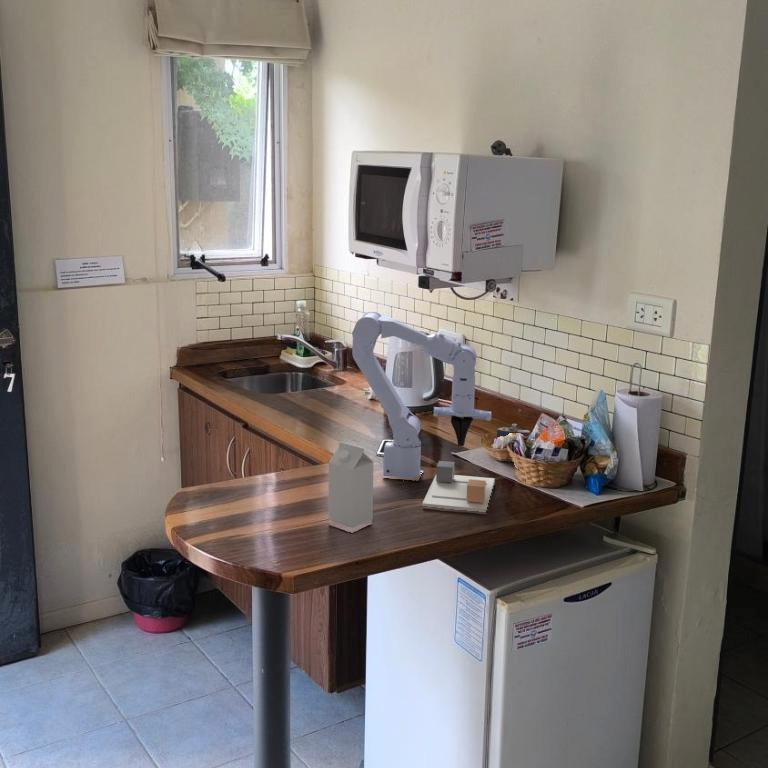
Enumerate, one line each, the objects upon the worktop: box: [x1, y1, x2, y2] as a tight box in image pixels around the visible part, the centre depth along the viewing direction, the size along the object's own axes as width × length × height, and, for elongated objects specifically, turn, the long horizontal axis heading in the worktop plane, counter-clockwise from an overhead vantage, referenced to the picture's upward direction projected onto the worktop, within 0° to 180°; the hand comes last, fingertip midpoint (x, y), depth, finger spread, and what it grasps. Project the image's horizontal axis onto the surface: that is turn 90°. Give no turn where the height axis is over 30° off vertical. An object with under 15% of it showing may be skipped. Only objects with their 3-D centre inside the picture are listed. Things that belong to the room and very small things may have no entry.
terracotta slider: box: [466, 479, 486, 503], centre depth 219 cm, size 4×4×4 cm
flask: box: [496, 423, 531, 438], centre depth 252 cm, size 9×3×11 cm, turn 78°
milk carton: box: [327, 441, 374, 528], centre depth 204 cm, size 7×7×19 cm
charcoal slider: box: [435, 460, 456, 483], centre depth 232 cm, size 4×4×4 cm
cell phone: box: [375, 438, 394, 455], centre depth 262 cm, size 8×15×1 cm, turn 173°
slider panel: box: [421, 474, 496, 512], centre depth 226 cm, size 15×22×2 cm
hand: (461, 444), depth 236 cm, fingers closed
